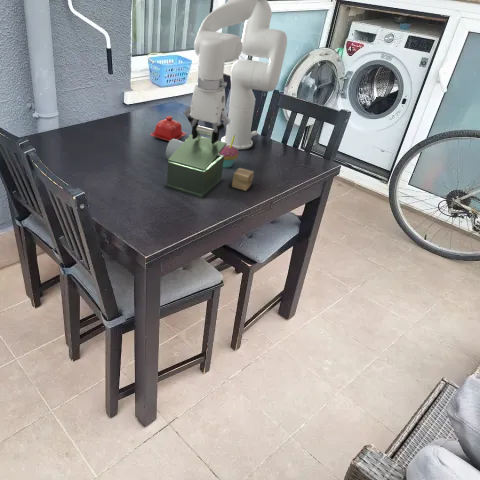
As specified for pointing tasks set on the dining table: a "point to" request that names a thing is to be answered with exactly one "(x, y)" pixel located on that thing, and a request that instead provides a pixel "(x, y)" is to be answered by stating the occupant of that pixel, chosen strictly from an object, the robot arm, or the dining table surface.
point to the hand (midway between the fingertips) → (204, 139)
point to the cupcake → (229, 154)
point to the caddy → (195, 177)
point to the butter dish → (168, 129)
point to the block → (242, 179)
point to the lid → (197, 150)
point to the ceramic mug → (172, 147)
